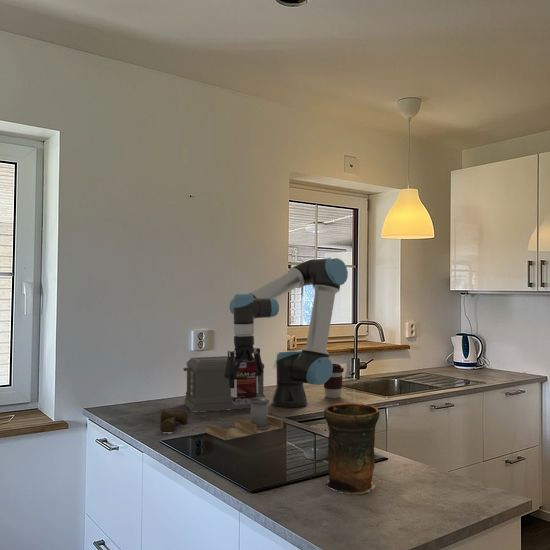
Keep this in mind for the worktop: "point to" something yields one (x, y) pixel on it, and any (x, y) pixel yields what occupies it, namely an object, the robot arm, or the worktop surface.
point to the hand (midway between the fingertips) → (244, 394)
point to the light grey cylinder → (259, 412)
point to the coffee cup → (334, 382)
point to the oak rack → (243, 428)
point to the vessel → (351, 447)
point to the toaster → (211, 385)
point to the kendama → (172, 420)
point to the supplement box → (246, 382)
